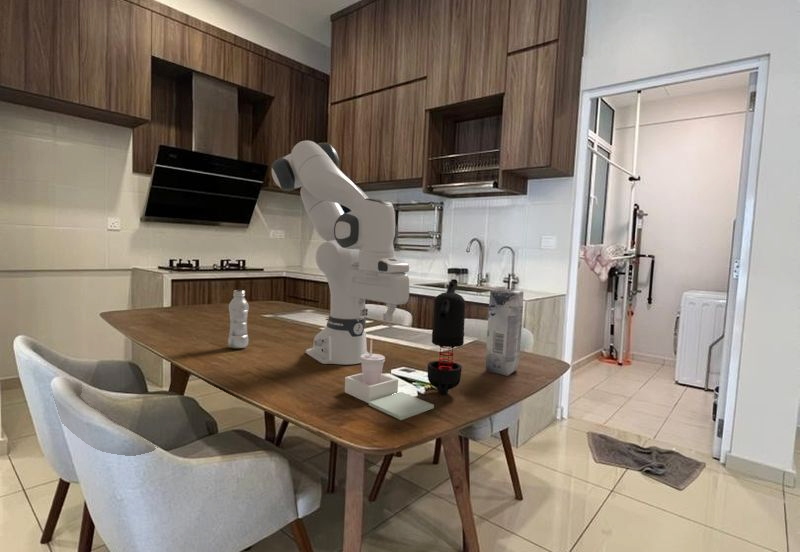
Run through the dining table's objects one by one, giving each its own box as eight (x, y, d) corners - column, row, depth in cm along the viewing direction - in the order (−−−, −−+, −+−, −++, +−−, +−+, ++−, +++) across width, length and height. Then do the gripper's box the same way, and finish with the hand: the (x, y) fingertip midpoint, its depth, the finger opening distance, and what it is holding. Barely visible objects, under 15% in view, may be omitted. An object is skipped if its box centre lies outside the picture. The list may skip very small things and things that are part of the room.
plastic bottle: (252, 347, 147) (253, 290, 146) (235, 351, 141) (236, 292, 140) (240, 344, 151) (241, 289, 149) (223, 348, 145) (224, 290, 143)
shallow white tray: (344, 392, 109) (345, 376, 108) (372, 384, 115) (373, 370, 115) (368, 403, 102) (369, 387, 101) (397, 394, 108) (398, 379, 108)
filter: (431, 384, 118) (437, 277, 115) (463, 389, 115) (470, 279, 113) (418, 401, 105) (424, 281, 102) (454, 407, 102) (462, 283, 100)
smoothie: (368, 387, 113) (370, 335, 112) (388, 392, 110) (390, 339, 109) (353, 394, 107) (355, 340, 106) (374, 400, 104) (376, 344, 103)
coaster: (368, 405, 101) (368, 401, 101) (401, 394, 108) (401, 391, 108) (401, 420, 93) (401, 416, 93) (433, 408, 101) (433, 404, 101)
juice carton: (520, 370, 136) (526, 286, 134) (509, 378, 127) (516, 288, 125) (494, 364, 141) (499, 284, 138) (482, 371, 132) (487, 286, 130)
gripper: (341, 261, 111) (340, 313, 112) (395, 265, 97) (393, 325, 97) (360, 261, 115) (358, 311, 116) (414, 265, 101) (412, 322, 102)
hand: (375, 318), depth 107 cm, fingers open, 8 cm apart
